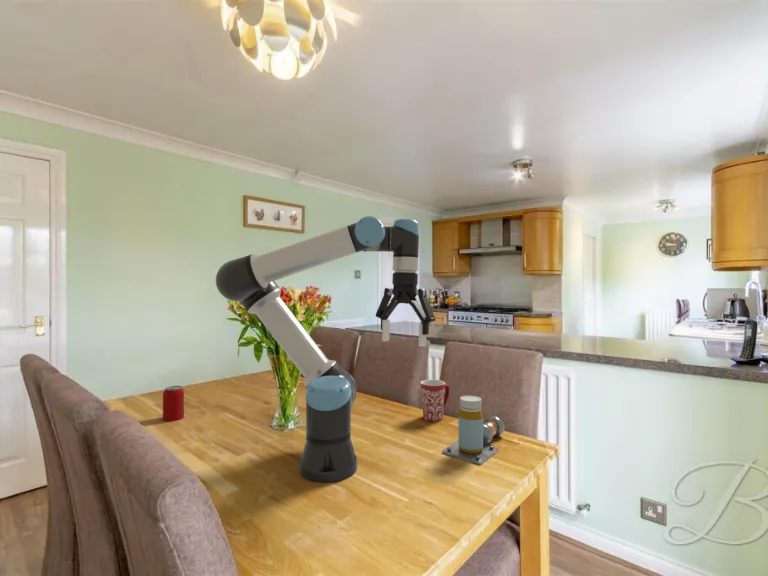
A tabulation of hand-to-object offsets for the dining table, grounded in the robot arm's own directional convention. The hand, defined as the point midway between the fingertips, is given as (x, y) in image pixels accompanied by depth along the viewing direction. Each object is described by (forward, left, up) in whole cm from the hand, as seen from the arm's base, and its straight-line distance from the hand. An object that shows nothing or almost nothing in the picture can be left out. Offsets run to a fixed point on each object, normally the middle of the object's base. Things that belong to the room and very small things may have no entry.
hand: (403, 343), depth 118 cm
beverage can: (-32, +80, -32) cm, 91 cm away
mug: (+31, +7, -32) cm, 45 cm away
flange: (+11, -16, -32) cm, 37 cm away
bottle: (+11, -16, -31) cm, 37 cm away
